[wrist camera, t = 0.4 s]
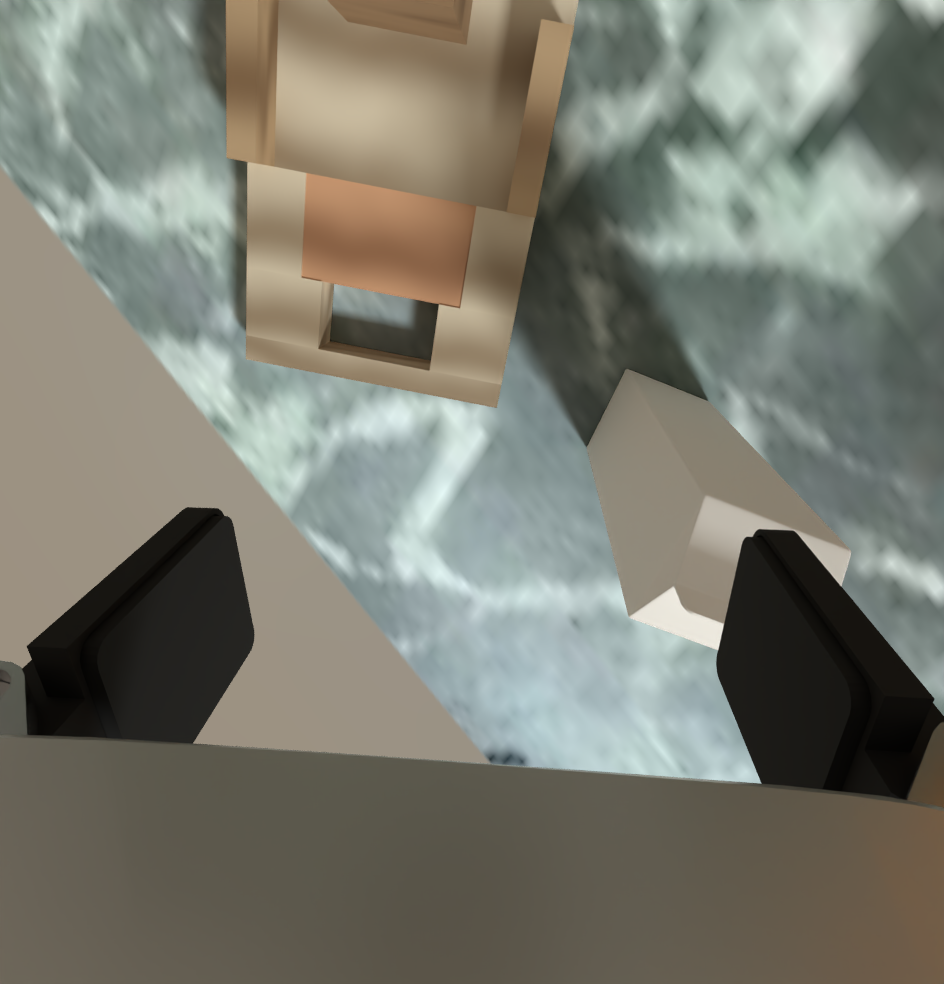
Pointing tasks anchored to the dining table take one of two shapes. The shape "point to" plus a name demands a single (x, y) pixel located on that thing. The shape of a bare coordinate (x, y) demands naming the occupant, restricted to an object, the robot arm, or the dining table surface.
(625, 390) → the milk
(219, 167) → the dining table surface
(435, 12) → the light brown block
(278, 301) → the tan puzzle board
